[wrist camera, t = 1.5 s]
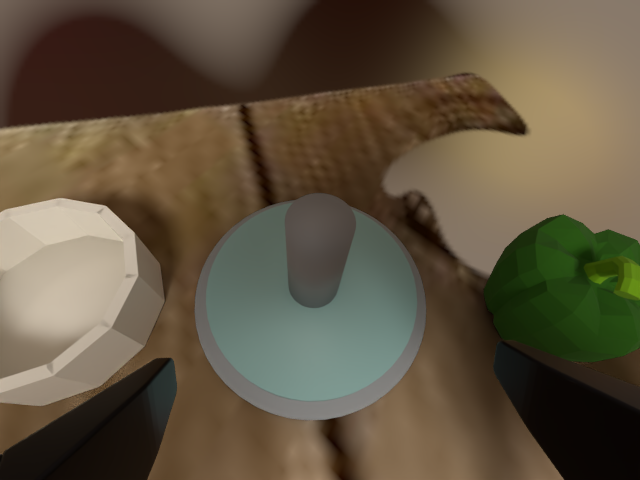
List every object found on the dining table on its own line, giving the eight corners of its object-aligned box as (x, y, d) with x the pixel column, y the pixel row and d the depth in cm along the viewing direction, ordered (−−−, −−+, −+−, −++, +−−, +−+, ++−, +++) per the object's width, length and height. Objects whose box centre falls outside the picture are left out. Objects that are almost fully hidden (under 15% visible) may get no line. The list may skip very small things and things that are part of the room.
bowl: (197, 299, 23) (177, 273, 19) (28, 451, 18) (-45, 456, 14) (103, 210, 27) (70, 173, 23) (-62, 316, 21) (-140, 291, 18)
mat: (462, 281, 25) (465, 279, 25) (330, 490, 18) (331, 492, 18) (302, 173, 30) (302, 169, 30) (146, 302, 23) (143, 300, 22)
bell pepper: (505, 247, 27) (600, 164, 19) (594, 324, 24) (757, 265, 16) (441, 302, 24) (520, 232, 16) (533, 397, 21) (693, 375, 13)
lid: (448, 280, 25) (516, 212, 17) (328, 461, 18) (350, 483, 11) (303, 180, 29) (305, 90, 21) (164, 298, 23) (96, 230, 15)
